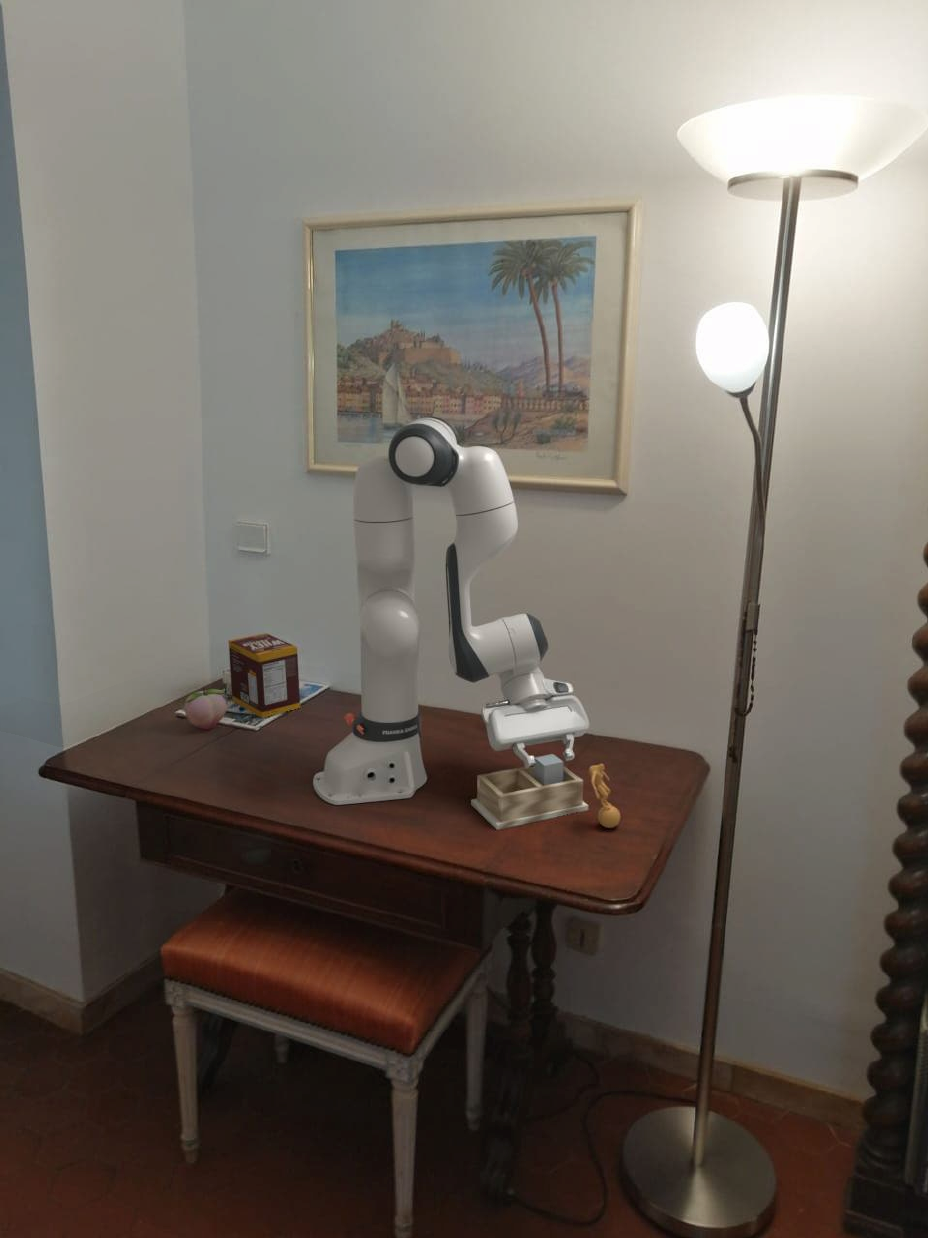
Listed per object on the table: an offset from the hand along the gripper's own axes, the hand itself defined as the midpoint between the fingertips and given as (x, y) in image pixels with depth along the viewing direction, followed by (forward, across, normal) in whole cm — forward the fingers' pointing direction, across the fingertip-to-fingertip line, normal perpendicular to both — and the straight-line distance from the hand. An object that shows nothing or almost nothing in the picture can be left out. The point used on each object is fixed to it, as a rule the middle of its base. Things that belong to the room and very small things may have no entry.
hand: (550, 763), depth 182 cm
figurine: (+14, +5, -2) cm, 15 cm away
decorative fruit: (-39, -52, +52) cm, 84 cm away
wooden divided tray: (+6, -4, +6) cm, 9 cm away
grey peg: (+5, 0, +6) cm, 8 cm away
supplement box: (-46, -36, +59) cm, 84 cm away
